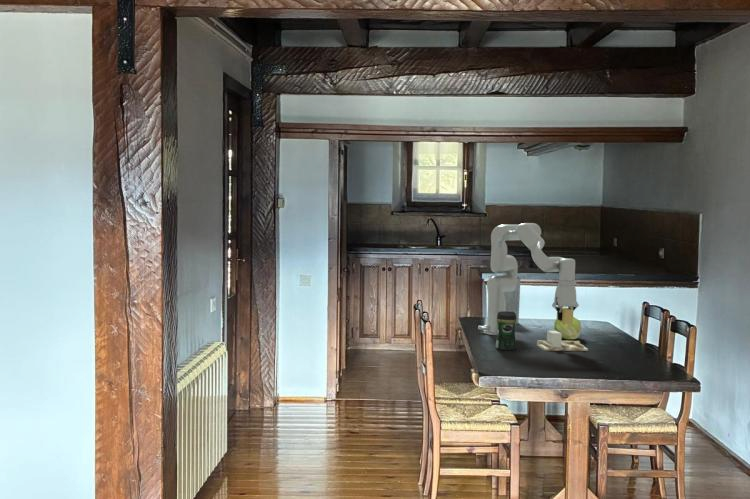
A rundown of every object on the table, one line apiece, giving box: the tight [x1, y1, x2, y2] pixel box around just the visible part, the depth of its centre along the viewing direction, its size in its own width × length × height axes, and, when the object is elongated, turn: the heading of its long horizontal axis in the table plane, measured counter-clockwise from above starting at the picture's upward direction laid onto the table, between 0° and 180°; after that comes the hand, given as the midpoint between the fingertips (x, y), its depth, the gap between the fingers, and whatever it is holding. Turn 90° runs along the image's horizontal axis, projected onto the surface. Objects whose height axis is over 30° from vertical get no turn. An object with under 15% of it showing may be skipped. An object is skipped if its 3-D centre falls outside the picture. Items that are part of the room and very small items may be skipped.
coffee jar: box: [495, 311, 517, 351], centre depth 374 cm, size 10×8×19 cm
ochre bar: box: [556, 307, 574, 324], centre depth 378 cm, size 8×4×7 cm, turn 15°
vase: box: [503, 276, 522, 325], centre depth 450 cm, size 10×10×27 cm
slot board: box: [536, 340, 589, 352], centre depth 381 cm, size 22×12×2 cm, turn 96°
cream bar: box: [546, 330, 563, 347], centre depth 380 cm, size 8×4×7 cm, turn 7°
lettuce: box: [553, 316, 582, 341], centre depth 405 cm, size 13×22×14 cm
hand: (564, 319), depth 378 cm, fingers closed on ochre bar, 4 cm apart
